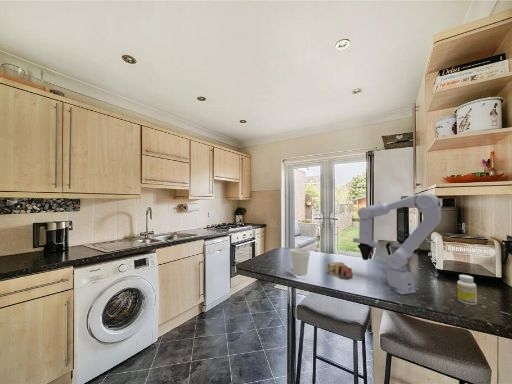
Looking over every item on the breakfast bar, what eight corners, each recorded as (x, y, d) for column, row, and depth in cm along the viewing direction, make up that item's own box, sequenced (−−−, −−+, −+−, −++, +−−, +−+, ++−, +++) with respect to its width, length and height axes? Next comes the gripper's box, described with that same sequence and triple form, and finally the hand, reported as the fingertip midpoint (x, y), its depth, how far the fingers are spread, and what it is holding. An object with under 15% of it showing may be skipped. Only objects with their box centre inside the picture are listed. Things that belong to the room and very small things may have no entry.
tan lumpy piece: (346, 275, 108) (346, 265, 108) (338, 276, 107) (338, 266, 107) (342, 273, 111) (342, 263, 111) (334, 274, 110) (334, 264, 110)
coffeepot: (420, 278, 111) (419, 242, 111) (406, 279, 108) (405, 243, 108) (392, 268, 125) (392, 237, 126) (380, 270, 122) (379, 237, 123)
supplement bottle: (460, 297, 88) (460, 273, 89) (479, 303, 84) (478, 277, 84) (454, 300, 86) (454, 275, 86) (473, 306, 81) (472, 279, 81)
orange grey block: (351, 276, 104) (351, 268, 104) (346, 276, 103) (346, 269, 103) (337, 269, 114) (337, 262, 114) (332, 269, 113) (332, 262, 113)
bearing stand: (356, 281, 105) (356, 267, 106) (339, 283, 102) (339, 269, 103) (341, 273, 116) (341, 261, 116) (325, 275, 113) (325, 263, 113)
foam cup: (303, 272, 117) (303, 247, 118) (313, 278, 109) (313, 251, 109) (287, 274, 114) (287, 249, 115) (296, 280, 106) (296, 253, 106)
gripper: (384, 234, 102) (384, 263, 102) (360, 229, 116) (360, 255, 115) (373, 234, 100) (372, 264, 99) (349, 229, 113) (349, 256, 113)
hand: (365, 259), depth 107 cm, fingers closed
